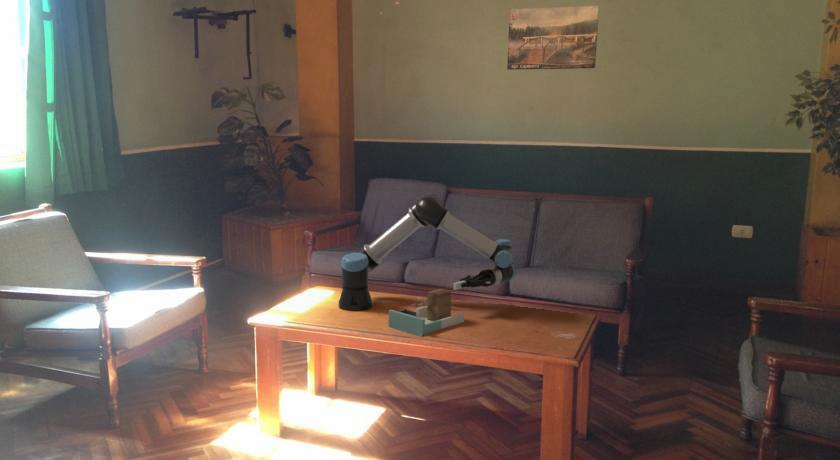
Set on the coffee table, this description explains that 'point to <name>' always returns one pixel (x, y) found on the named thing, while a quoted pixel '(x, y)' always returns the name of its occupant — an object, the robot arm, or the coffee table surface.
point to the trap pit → (408, 312)
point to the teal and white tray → (420, 322)
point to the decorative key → (420, 304)
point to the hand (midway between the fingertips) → (454, 286)
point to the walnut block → (438, 304)
